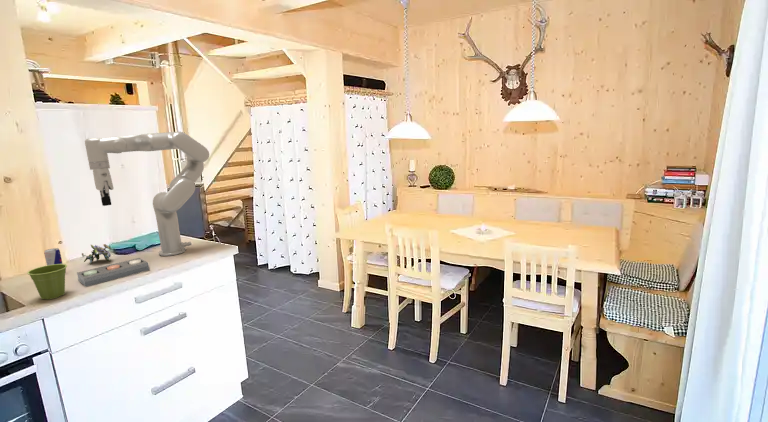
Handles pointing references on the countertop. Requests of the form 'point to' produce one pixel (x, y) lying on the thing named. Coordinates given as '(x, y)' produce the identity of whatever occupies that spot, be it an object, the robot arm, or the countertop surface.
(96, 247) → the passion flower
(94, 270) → the sage button
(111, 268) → the terracotta button
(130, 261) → the ivory button
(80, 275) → the console
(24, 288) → the countertop surface
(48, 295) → the plant pot
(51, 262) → the energy drink
